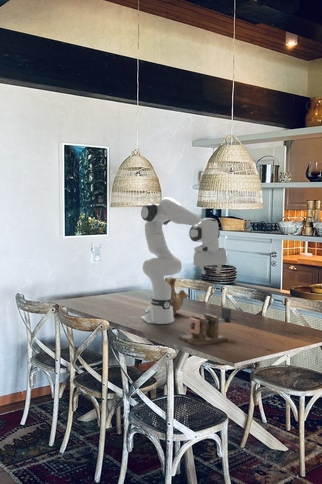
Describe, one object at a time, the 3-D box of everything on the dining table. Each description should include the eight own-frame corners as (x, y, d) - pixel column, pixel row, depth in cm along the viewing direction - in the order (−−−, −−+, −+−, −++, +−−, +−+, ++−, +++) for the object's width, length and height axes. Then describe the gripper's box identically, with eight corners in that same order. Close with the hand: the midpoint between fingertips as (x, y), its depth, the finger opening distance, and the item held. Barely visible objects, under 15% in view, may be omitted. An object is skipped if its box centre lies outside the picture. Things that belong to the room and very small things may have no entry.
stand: (179, 338, 278) (179, 315, 277) (209, 334, 288) (210, 311, 287) (196, 345, 264) (197, 321, 263) (227, 340, 275) (228, 317, 274)
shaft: (186, 325, 274) (186, 311, 273) (223, 320, 286) (224, 307, 286) (192, 327, 269) (193, 313, 268) (230, 322, 281) (231, 309, 281)
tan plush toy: (189, 314, 337) (190, 276, 335) (168, 318, 325) (168, 278, 323) (170, 310, 351) (171, 273, 349) (149, 313, 338) (149, 275, 336)
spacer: (188, 331, 275) (189, 317, 275) (191, 330, 276) (192, 317, 276) (196, 334, 269) (196, 320, 269) (199, 333, 270) (199, 320, 270)
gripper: (222, 247, 289) (222, 272, 289) (191, 248, 279) (192, 274, 279) (229, 247, 284) (229, 273, 284) (198, 248, 273) (198, 274, 273)
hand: (210, 273), depth 281 cm, fingers open, 8 cm apart
